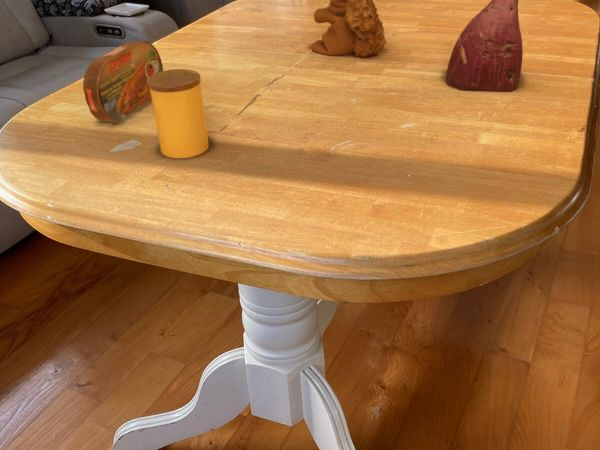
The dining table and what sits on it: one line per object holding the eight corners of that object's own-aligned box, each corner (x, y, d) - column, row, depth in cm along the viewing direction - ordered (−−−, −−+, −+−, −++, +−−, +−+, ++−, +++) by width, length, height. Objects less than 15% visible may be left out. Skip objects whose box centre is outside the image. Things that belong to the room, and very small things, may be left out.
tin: (109, 134, 74) (94, 69, 69) (88, 131, 75) (72, 67, 70) (169, 91, 86) (159, 33, 81) (150, 90, 86) (139, 32, 82)
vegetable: (497, 89, 90) (534, -13, 84) (525, 106, 81) (568, -7, 75) (433, 76, 89) (465, -30, 82) (453, 92, 79) (491, -26, 73)
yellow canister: (153, 161, 67) (138, 86, 62) (170, 140, 72) (158, 68, 67) (201, 164, 66) (190, 87, 61) (216, 142, 71) (207, 69, 66)
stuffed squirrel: (348, 37, 105) (348, -42, 98) (403, 55, 96) (408, -31, 88) (303, 48, 101) (300, -34, 93) (357, 68, 91) (358, -21, 84)
